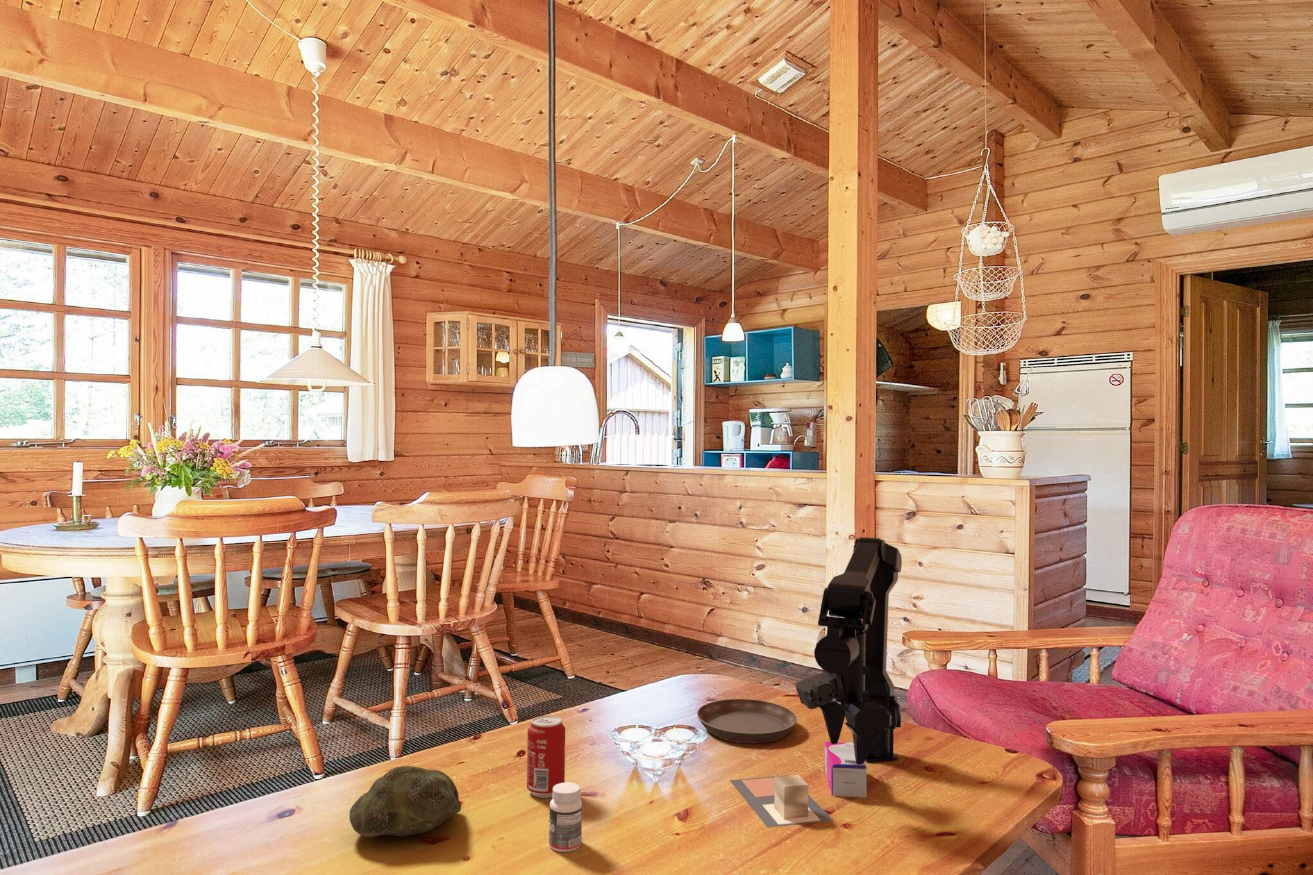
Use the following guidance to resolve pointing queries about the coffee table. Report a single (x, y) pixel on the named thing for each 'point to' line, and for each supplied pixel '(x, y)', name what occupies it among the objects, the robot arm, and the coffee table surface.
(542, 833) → the coffee table surface
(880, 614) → the robot arm
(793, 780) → the block
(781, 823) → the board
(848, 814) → the coffee table surface
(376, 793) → the decorative rock
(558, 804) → the pill bottle
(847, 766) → the supplement box
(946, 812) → the coffee table surface
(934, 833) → the coffee table surface
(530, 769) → the beverage can
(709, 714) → the plant saucer
